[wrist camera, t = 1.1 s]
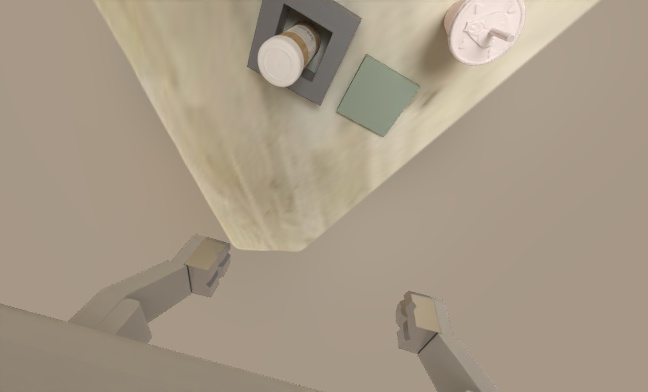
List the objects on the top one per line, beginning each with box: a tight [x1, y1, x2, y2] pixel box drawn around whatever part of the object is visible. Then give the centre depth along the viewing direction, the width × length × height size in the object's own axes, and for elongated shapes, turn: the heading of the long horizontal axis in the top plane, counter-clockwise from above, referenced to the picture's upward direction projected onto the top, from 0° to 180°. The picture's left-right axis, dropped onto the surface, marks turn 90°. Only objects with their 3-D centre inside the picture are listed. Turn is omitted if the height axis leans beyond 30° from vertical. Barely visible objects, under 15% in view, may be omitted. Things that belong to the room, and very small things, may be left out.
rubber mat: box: [337, 54, 420, 137], centre depth 38 cm, size 9×9×1 cm
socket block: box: [247, 0, 361, 106], centre depth 34 cm, size 11×11×4 cm
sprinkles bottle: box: [258, 21, 320, 87], centre depth 30 cm, size 5×5×13 cm
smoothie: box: [444, 0, 525, 66], centre depth 26 cm, size 6×6×14 cm
